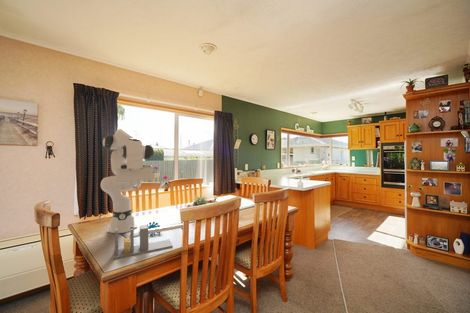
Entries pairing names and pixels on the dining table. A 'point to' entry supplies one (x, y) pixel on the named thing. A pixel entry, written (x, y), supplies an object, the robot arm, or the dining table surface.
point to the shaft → (165, 228)
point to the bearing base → (143, 246)
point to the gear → (153, 227)
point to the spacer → (126, 245)
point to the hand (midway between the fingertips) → (135, 188)
